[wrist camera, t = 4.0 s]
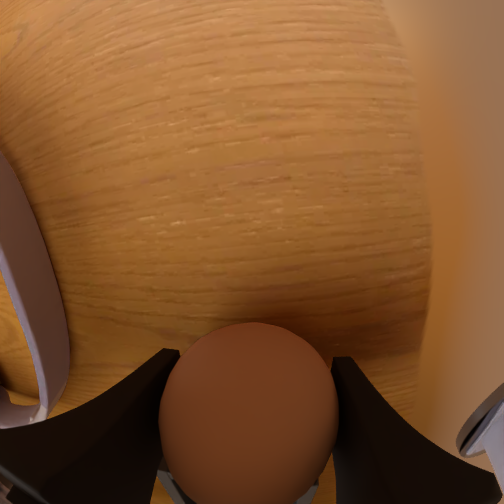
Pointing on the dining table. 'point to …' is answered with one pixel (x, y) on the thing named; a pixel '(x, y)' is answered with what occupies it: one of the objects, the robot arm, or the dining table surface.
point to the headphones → (31, 301)
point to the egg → (248, 416)
